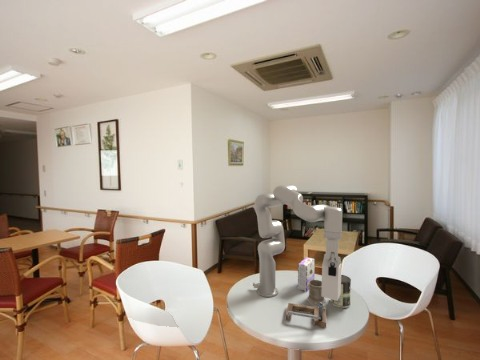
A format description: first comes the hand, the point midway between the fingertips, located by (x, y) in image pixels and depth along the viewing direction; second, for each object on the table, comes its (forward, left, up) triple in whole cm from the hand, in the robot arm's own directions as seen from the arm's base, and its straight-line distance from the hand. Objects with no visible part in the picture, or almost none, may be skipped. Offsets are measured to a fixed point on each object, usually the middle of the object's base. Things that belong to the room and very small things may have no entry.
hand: (331, 271), depth 117 cm
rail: (-12, +1, -28) cm, 30 cm away
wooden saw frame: (-12, +6, -28) cm, 31 cm away
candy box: (-13, +39, -28) cm, 50 cm away
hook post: (-5, +1, -25) cm, 26 cm away
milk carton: (0, 0, -12) cm, 12 cm away
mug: (-5, +23, -28) cm, 37 cm away
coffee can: (+6, +25, -28) cm, 38 cm away
